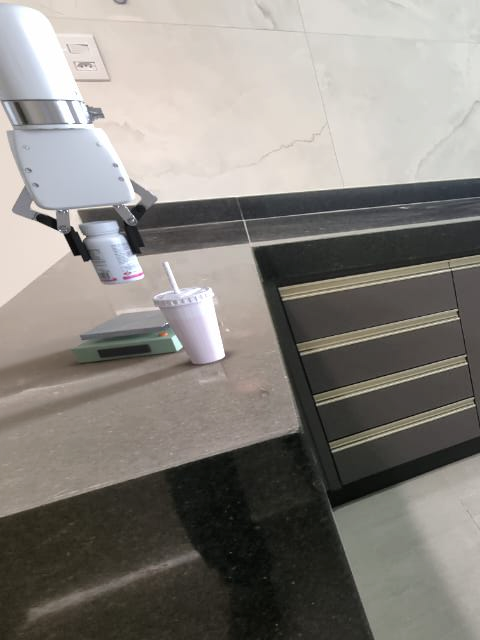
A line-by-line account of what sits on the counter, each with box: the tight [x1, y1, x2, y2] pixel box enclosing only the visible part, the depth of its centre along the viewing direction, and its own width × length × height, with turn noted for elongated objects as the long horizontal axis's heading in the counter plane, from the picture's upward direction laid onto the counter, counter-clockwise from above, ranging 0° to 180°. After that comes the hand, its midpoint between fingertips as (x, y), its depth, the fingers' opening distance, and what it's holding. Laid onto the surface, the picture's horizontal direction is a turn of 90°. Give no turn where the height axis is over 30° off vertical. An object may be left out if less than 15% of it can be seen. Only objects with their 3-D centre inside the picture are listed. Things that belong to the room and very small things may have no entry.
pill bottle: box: [77, 219, 145, 286], centre depth 76 cm, size 5×5×8 cm
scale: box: [71, 327, 184, 364], centre depth 81 cm, size 12×12×2 cm
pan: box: [79, 309, 170, 341], centre depth 80 cm, size 10×10×1 cm
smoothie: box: [151, 261, 226, 365], centre depth 72 cm, size 6×6×14 cm
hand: (112, 255), depth 76 cm, fingers closed on pill bottle, 4 cm apart
